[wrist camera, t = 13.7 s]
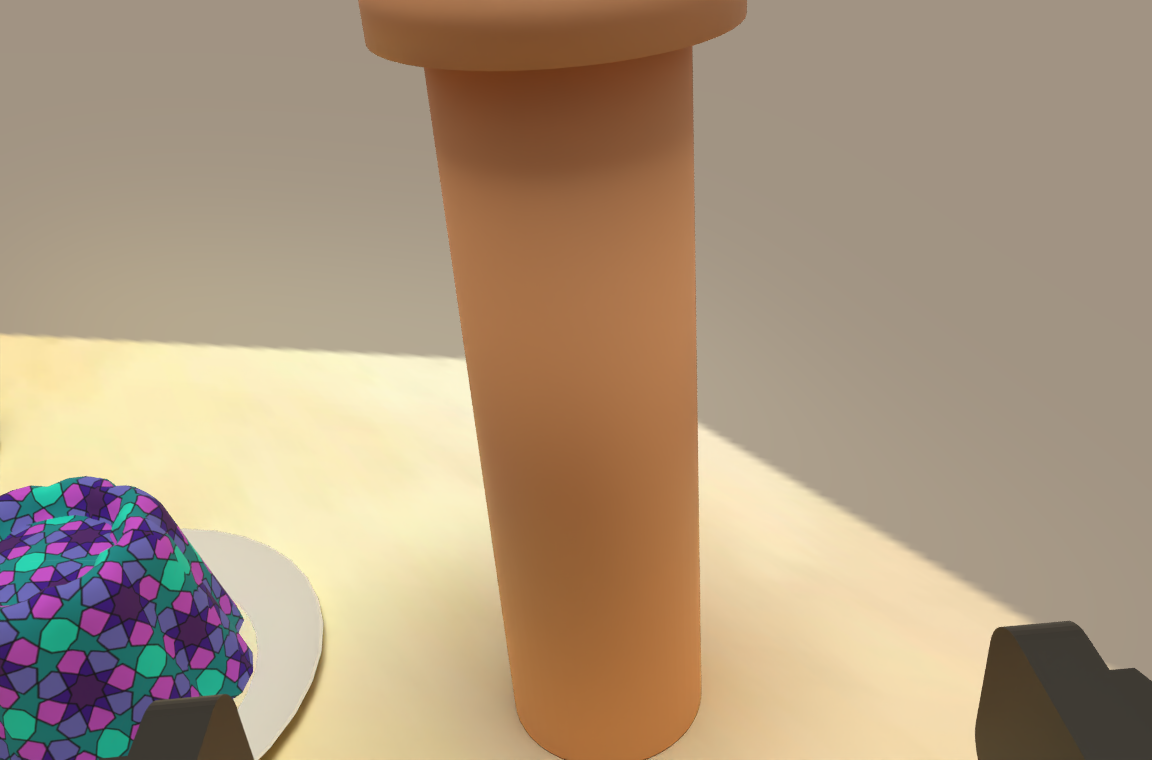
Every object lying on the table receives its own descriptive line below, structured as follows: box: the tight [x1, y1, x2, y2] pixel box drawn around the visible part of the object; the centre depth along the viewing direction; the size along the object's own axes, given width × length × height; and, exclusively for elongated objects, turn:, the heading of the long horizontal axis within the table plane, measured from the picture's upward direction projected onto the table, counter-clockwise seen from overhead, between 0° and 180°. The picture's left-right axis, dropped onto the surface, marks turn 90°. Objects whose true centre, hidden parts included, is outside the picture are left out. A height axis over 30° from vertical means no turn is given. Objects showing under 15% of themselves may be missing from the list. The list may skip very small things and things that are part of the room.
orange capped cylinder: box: [358, 0, 747, 760], centre depth 21 cm, size 6×6×17 cm
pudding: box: [0, 476, 323, 760], centre depth 26 cm, size 12×12×5 cm
